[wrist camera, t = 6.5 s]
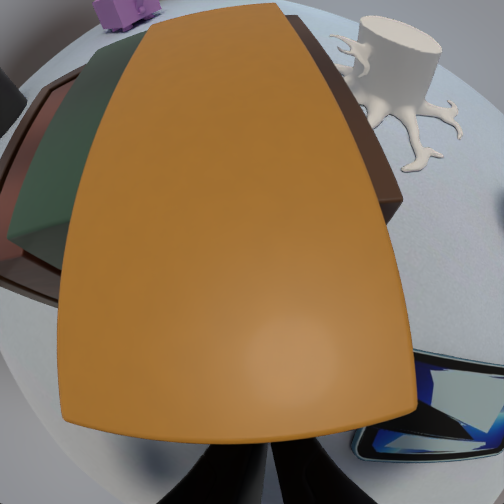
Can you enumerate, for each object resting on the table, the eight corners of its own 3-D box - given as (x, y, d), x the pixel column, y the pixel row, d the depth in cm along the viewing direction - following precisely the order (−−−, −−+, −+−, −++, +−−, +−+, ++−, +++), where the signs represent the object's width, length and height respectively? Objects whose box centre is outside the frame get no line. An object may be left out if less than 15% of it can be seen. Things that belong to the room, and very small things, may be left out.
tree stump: (271, 60, 26) (266, 2, 19) (397, 53, 27) (407, 8, 19) (359, 186, 19) (389, 102, 11) (493, 154, 19) (526, 106, 12)
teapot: (169, 13, 40) (156, -29, 28) (131, 33, 38) (113, -12, 26) (128, 16, 46) (116, -17, 35) (97, 34, 44) (82, 0, 32)
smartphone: (503, 454, 9) (348, 459, 11) (496, 452, 10) (344, 454, 12) (528, 367, 11) (388, 342, 14) (520, 368, 12) (382, 343, 15)
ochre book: (303, 366, 15) (421, 412, 2) (235, 373, 15) (59, 422, 2) (282, 213, 19) (276, 1, 6) (224, 221, 19) (150, 24, 6)
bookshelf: (323, 306, 16) (424, 171, 4) (109, 324, 17) (-53, 260, 5) (295, 162, 20) (297, -3, 8) (121, 191, 21) (34, 76, 9)
